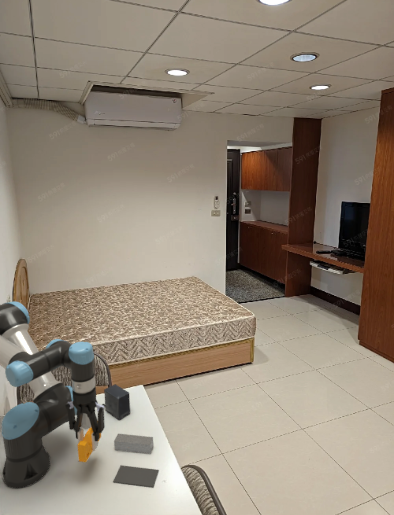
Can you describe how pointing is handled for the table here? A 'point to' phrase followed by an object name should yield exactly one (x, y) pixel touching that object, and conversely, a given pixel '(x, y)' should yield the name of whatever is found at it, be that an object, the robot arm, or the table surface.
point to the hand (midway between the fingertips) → (88, 446)
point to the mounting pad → (136, 476)
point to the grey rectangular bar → (133, 443)
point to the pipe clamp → (86, 446)
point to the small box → (117, 402)
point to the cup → (85, 422)
